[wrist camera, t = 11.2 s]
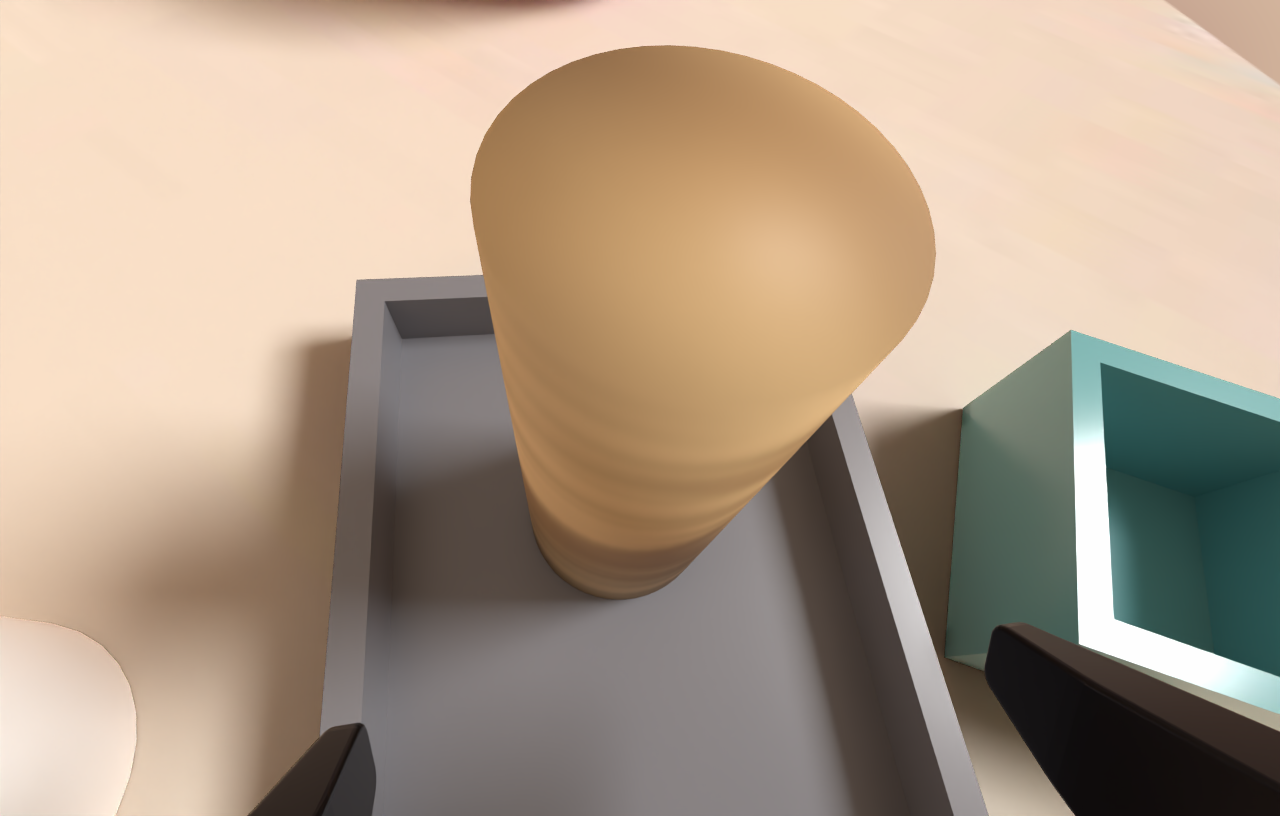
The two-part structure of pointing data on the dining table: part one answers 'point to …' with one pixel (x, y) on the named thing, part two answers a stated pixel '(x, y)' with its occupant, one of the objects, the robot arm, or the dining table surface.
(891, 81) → the dining table surface
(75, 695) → the cylindrical container
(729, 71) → the dowel pin
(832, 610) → the charcoal tray
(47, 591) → the dining table surface
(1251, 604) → the teal open box
